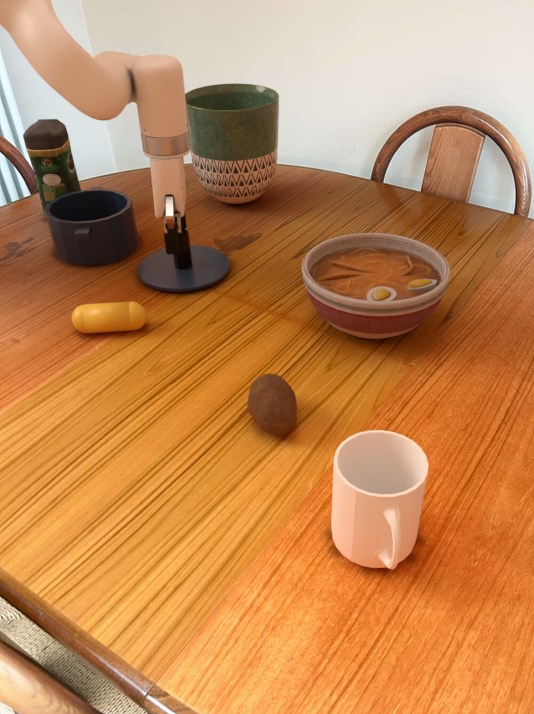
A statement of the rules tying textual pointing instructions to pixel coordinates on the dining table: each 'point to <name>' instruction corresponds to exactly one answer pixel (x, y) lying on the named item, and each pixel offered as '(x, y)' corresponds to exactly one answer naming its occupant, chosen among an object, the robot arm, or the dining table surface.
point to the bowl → (375, 283)
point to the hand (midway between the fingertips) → (176, 240)
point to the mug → (377, 497)
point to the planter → (233, 139)
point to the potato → (273, 404)
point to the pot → (92, 226)
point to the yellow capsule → (109, 317)
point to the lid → (184, 268)
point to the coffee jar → (51, 159)
